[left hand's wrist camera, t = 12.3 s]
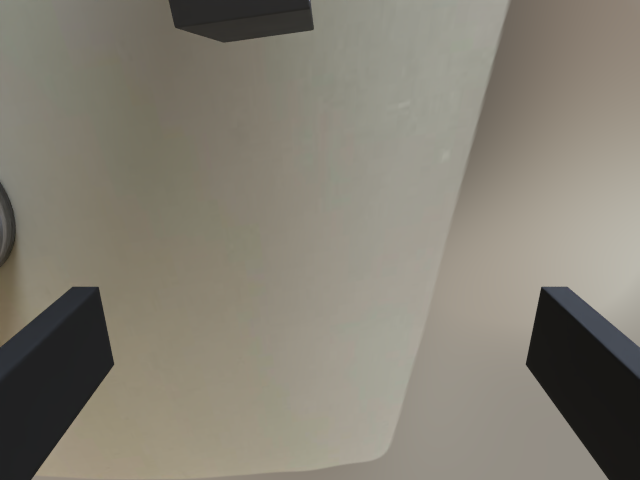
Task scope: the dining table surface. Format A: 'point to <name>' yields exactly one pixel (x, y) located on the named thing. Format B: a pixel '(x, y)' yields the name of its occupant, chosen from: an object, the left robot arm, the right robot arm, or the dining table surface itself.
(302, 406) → the dining table surface
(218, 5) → the bar
